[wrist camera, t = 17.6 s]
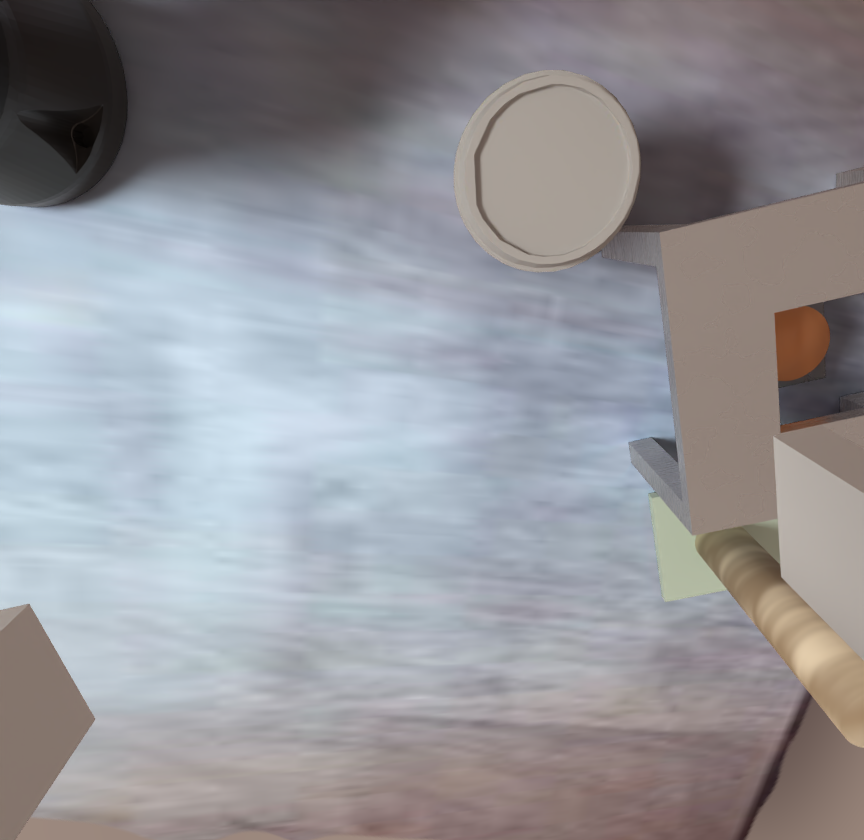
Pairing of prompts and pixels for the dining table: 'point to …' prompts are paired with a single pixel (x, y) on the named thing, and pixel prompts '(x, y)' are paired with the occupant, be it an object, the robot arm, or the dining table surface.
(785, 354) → the button
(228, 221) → the dining table surface
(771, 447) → the stand
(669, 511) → the pad
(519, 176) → the disposable coffee cup
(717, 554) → the rod
